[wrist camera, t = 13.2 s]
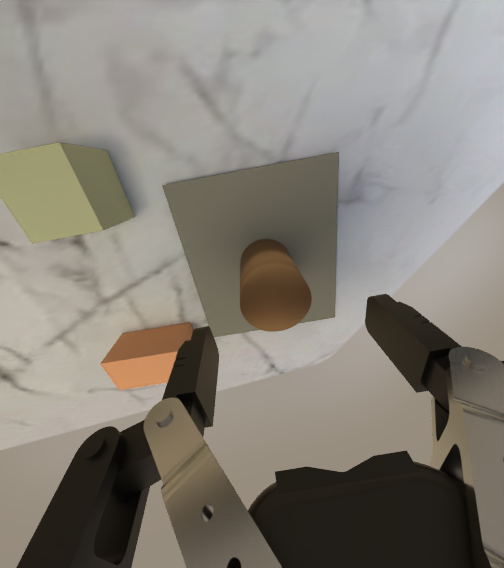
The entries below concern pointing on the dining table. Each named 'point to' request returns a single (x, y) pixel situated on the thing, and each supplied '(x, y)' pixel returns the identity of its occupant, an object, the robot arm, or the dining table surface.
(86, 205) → the sage cube
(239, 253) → the slate mat
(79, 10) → the dining table surface
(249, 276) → the walnut cylinder
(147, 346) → the terracotta brick
